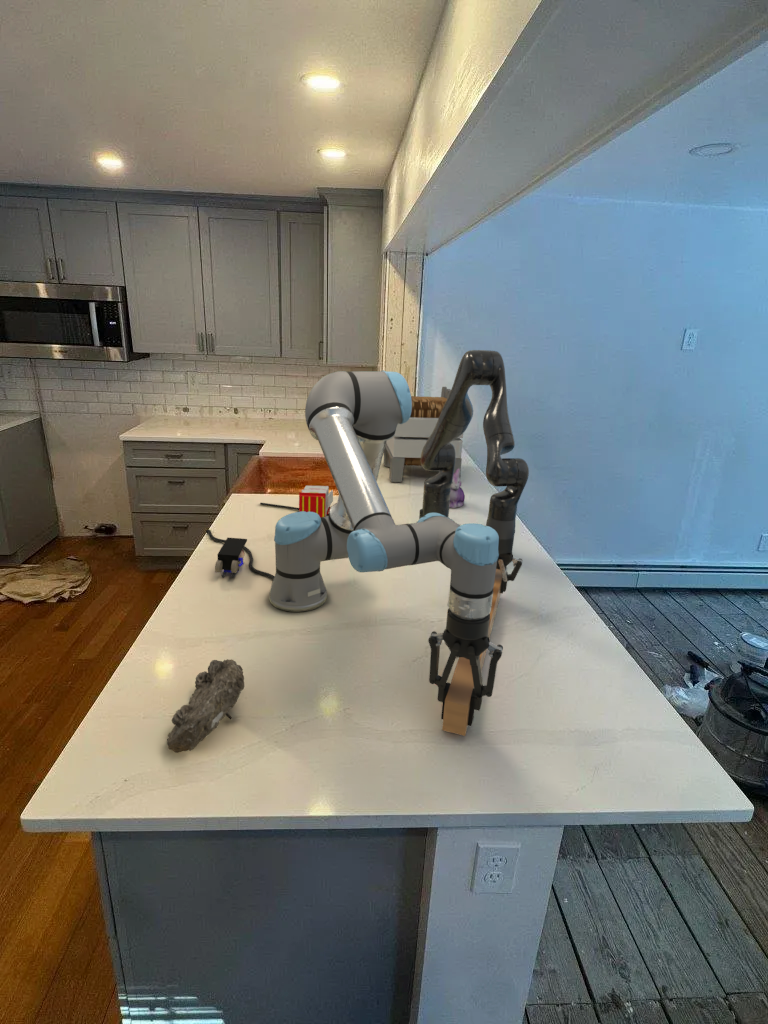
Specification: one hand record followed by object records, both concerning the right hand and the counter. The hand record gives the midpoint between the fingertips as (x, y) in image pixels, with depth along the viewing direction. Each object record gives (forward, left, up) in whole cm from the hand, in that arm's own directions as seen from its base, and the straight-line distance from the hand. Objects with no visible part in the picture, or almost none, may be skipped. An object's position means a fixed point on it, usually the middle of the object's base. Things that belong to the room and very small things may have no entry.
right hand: (492, 590), depth 154 cm
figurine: (-48, +66, -4) cm, 81 cm away
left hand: (+16, -49, -2) cm, 52 cm away
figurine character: (-69, -32, -4) cm, 76 cm away
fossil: (-22, -77, -4) cm, 80 cm away
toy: (-80, +17, -4) cm, 82 cm away
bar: (+8, -25, -2) cm, 26 cm away
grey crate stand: (-84, +96, -4) cm, 128 cm away
